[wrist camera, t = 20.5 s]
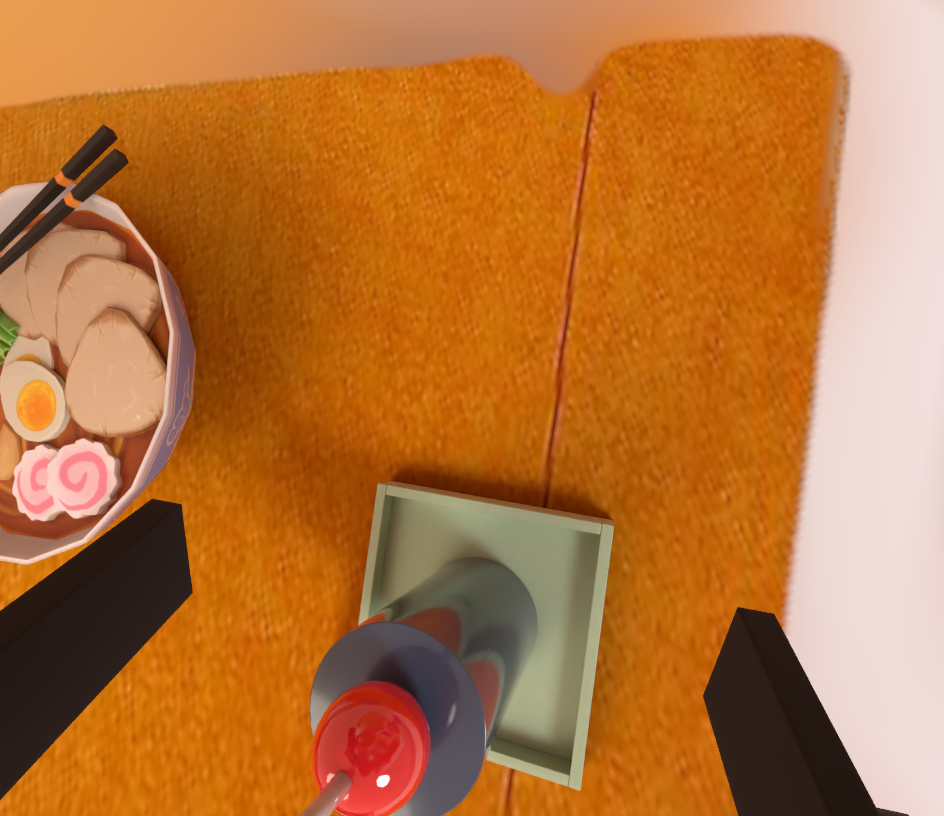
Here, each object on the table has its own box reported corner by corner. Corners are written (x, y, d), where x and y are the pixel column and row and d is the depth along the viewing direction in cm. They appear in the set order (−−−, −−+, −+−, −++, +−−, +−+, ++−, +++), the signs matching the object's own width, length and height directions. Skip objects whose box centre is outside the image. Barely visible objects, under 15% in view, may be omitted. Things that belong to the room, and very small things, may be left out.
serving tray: (614, 520, 28) (614, 525, 26) (583, 769, 27) (580, 791, 26) (390, 480, 32) (377, 482, 30) (360, 699, 31) (344, 714, 29)
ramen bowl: (68, 603, 38) (-76, 646, 30) (-24, 344, 42) (-171, 322, 35) (333, 430, 33) (242, 426, 25) (196, 155, 37) (83, 79, 29)
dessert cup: (564, 621, 28) (463, 925, 10) (483, 709, 28) (264, 1126, 11) (471, 531, 29) (250, 661, 12) (397, 617, 30) (93, 853, 13)
